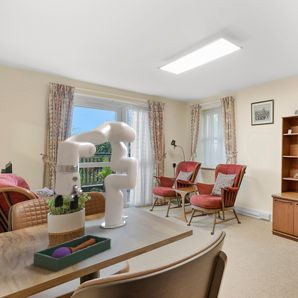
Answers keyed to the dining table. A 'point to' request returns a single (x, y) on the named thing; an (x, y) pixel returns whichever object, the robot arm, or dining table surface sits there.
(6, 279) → the dining table surface
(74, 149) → the robot arm
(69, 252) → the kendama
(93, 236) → the tray
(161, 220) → the dining table surface
